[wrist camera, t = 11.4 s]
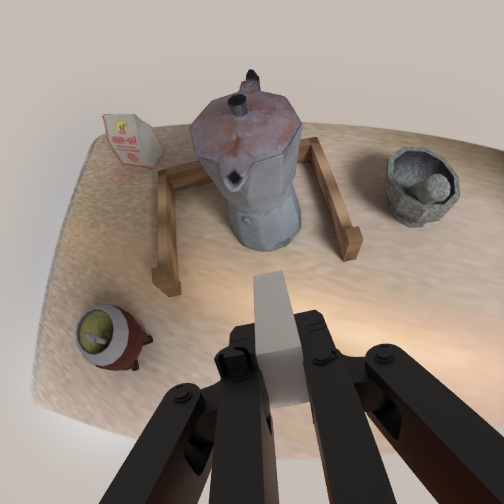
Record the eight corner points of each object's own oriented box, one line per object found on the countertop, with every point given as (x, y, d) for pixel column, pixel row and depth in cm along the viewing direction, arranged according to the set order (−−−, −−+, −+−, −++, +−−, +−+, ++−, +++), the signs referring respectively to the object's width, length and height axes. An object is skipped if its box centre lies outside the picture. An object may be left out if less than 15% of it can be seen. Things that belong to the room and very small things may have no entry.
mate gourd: (103, 328, 37) (22, 287, 23) (155, 308, 37) (85, 256, 24) (114, 383, 33) (27, 365, 20) (170, 367, 33) (96, 343, 20)
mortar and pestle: (380, 172, 41) (397, 107, 31) (440, 188, 39) (469, 129, 28) (372, 240, 37) (395, 179, 26) (439, 257, 35) (481, 204, 24)
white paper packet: (133, 148, 50) (109, 106, 41) (163, 151, 49) (141, 106, 40) (122, 164, 49) (96, 123, 40) (153, 168, 47) (127, 123, 38)
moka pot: (223, 275, 38) (160, 162, 20) (232, 174, 44) (196, 52, 26) (304, 274, 36) (307, 151, 18) (299, 170, 43) (293, 42, 25)
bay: (355, 259, 36) (363, 239, 32) (168, 296, 37) (152, 282, 33) (317, 153, 44) (318, 128, 40) (165, 186, 45) (153, 164, 41)
